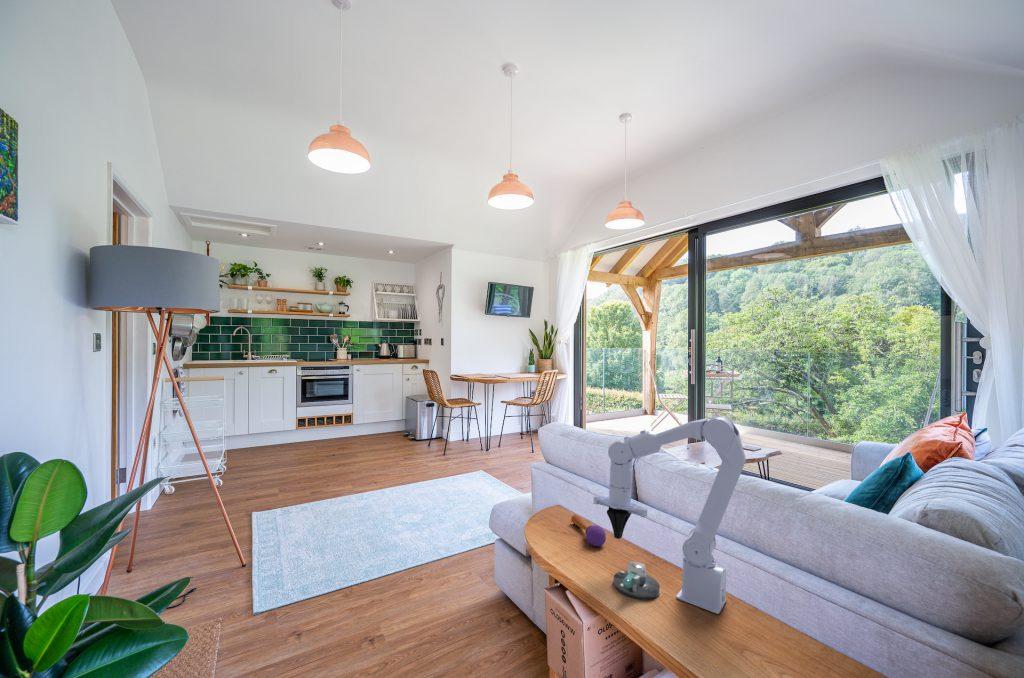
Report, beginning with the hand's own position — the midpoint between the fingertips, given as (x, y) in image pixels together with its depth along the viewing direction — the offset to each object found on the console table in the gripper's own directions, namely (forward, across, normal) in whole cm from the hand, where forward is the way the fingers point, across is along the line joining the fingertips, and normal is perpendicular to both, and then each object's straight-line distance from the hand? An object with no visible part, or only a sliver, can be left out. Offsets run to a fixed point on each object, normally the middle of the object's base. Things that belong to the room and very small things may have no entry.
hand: (618, 537), depth 114 cm
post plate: (+9, +7, -4) cm, 12 cm away
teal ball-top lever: (+7, +7, -7) cm, 12 cm away
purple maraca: (+10, -18, +16) cm, 26 cm away
